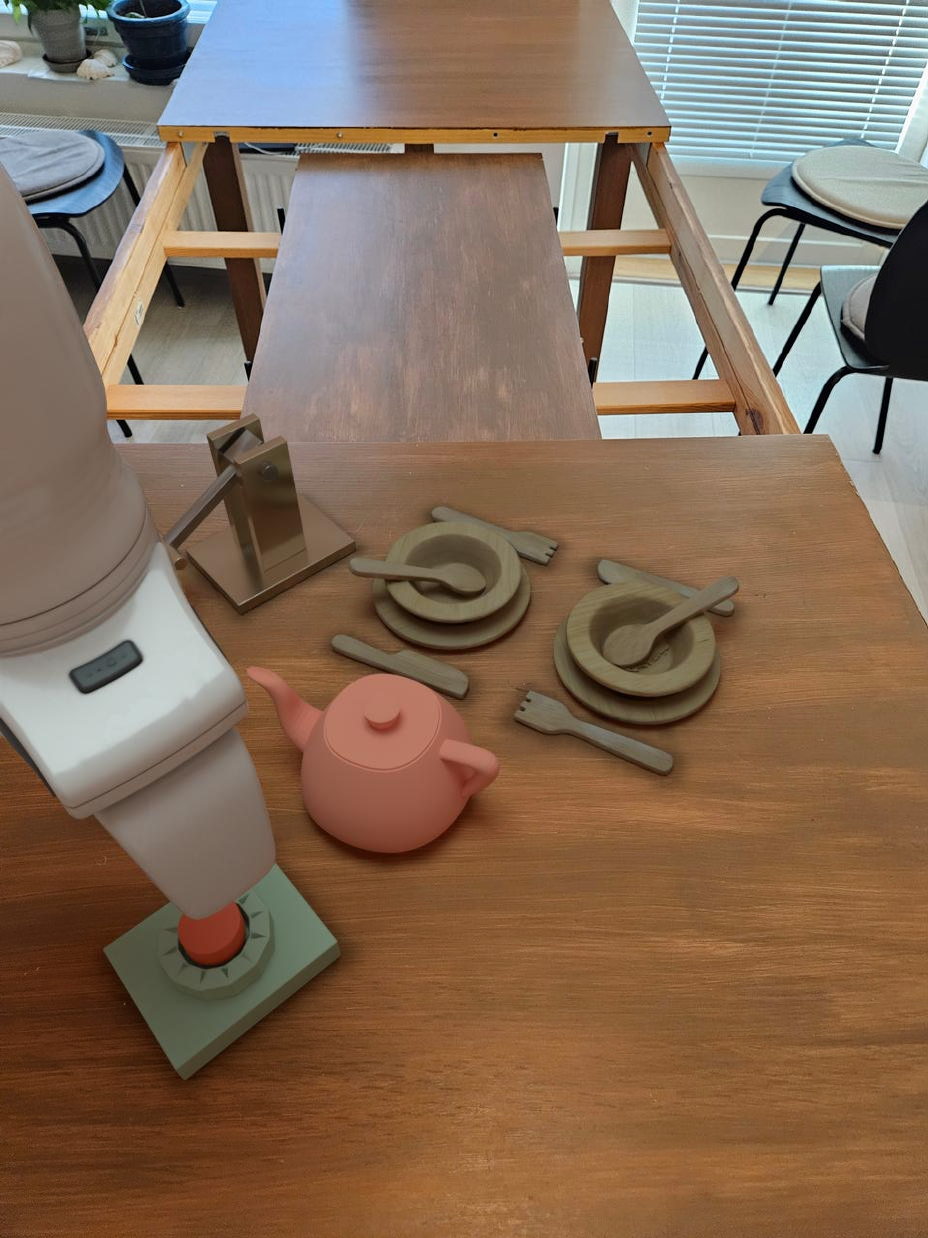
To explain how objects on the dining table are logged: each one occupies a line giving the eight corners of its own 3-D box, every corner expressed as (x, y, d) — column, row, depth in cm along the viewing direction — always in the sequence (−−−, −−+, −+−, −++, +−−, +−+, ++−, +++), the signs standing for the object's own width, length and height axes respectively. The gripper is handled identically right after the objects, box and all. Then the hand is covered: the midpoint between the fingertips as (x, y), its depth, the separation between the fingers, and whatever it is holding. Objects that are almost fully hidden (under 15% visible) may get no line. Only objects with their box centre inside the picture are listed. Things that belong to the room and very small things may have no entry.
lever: (185, 576, 71) (166, 563, 69) (155, 543, 73) (135, 530, 71) (287, 465, 71) (271, 449, 69) (253, 436, 74) (237, 420, 72)
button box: (184, 1081, 51) (167, 1060, 48) (112, 962, 55) (92, 936, 52) (341, 955, 56) (334, 929, 53) (263, 855, 60) (253, 826, 57)
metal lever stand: (241, 615, 75) (208, 497, 65) (188, 559, 79) (150, 441, 70) (356, 550, 80) (341, 432, 71) (300, 501, 85) (279, 384, 75)
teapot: (464, 899, 58) (464, 827, 51) (227, 808, 63) (196, 730, 56) (526, 753, 66) (532, 673, 58) (310, 682, 70) (292, 599, 63)
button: (204, 979, 51) (197, 967, 50) (173, 933, 53) (166, 920, 52) (257, 938, 53) (252, 926, 51) (226, 895, 55) (220, 882, 53)
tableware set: (324, 649, 72) (315, 598, 68) (434, 505, 84) (432, 455, 80) (680, 786, 64) (696, 739, 59) (746, 605, 75) (764, 554, 71)
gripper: (-142, 489, 36) (-2, 698, 46) (83, 837, 25) (199, 1006, 35) (12, 425, 38) (111, 636, 49) (273, 716, 28) (329, 905, 38)
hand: (150, 794), depth 42 cm, fingers closed
